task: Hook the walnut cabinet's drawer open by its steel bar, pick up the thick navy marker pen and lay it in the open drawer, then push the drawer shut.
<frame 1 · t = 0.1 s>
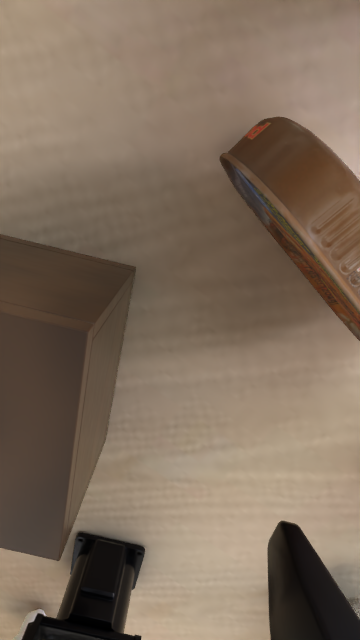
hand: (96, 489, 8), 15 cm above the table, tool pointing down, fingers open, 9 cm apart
lightbulb: (41, 608, 39), on the table
tin: (318, 247, 20), on the table
cabinet: (24, 342, 24), on the table
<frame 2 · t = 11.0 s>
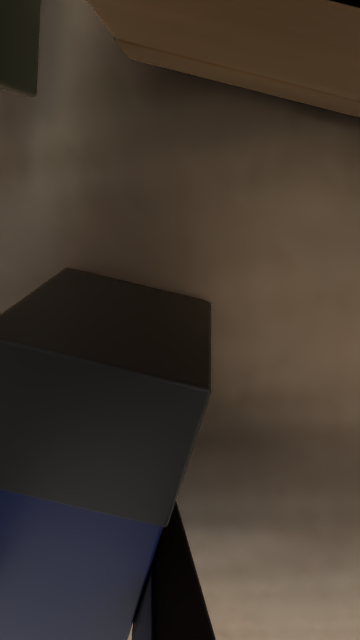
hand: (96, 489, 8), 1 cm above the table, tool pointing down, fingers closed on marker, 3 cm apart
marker: (107, 456, 9), on the table, touching gripper
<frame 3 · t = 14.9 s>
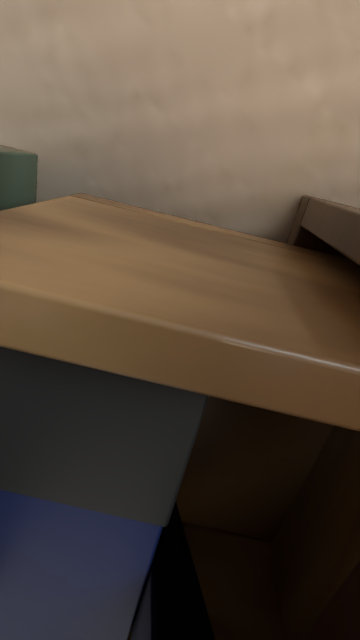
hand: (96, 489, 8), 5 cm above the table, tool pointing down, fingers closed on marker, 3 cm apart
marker: (107, 456, 9), point 4 cm above the table, touching gripper
drawer: (63, 450, 9), point 5 cm above the table, slide at 7.6 cm
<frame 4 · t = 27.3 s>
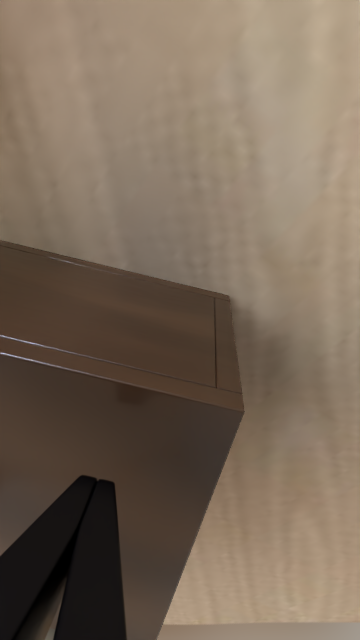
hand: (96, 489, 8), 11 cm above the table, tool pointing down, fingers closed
cabinet: (77, 371, 20), on the table
drawer: (38, 484, 18), point 5 cm above the table, slide at 0.0 cm, touching cabinet, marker
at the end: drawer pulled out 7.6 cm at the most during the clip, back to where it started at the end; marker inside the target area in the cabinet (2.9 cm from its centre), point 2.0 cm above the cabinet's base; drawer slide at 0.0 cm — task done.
